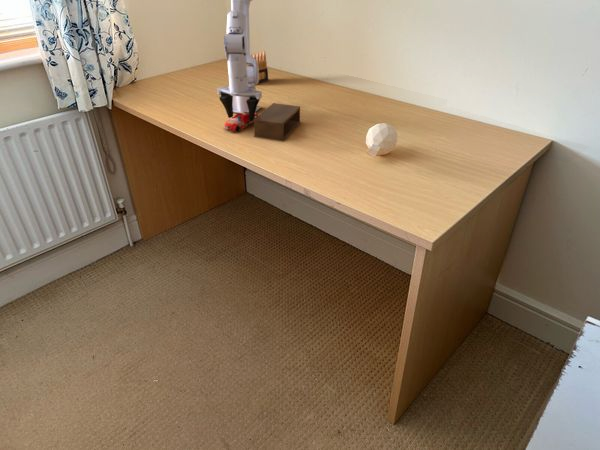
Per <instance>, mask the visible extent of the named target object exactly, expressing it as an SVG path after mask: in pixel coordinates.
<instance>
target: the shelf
mask: <svg viewBox="0 0 600 450" xmlns="http://www.w3.org/2000/svg"><path fill="white" fill-rule="evenodd" d="M299 124H301V106H300V105H294V104H293V105H292V104H283V103H278V102H277V103H276V102H273V103H271V104H270V105H269V106H268V107H267V108H266V109H264V110H263V111H262V112H260V113H259V114H258V116H257V117H256V118H255V119H254V125H253V134H254V137H255V138H261V139H267V140H275V141H281V142H283V141H284V140H285V139H286V138H287V137H288V136H289V135H290V134H291V133H292V132H293V131H294V130H295V129H296V128H297V126H299Z"/></svg>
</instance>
